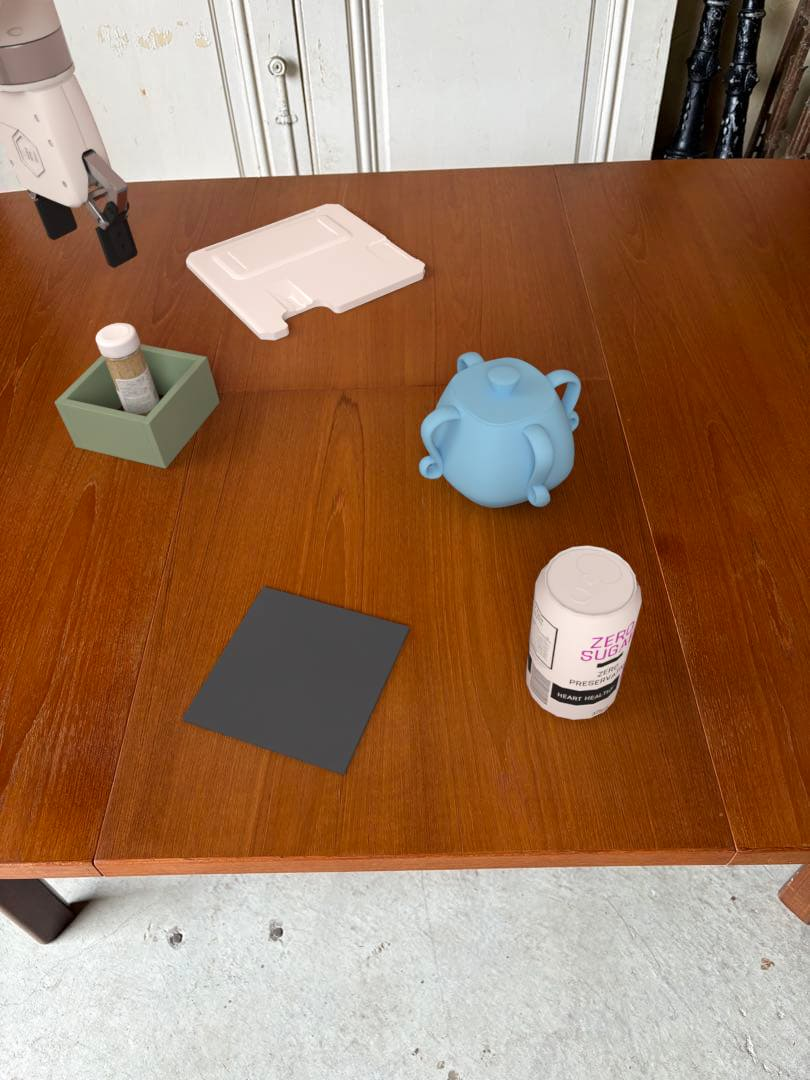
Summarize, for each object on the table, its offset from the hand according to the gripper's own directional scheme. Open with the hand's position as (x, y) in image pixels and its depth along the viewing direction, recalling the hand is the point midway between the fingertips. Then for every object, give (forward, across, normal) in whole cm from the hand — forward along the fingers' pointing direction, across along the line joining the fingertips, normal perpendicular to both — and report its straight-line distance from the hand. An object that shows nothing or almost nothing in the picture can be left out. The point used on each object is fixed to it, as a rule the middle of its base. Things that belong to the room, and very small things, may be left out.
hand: (93, 247), depth 81 cm
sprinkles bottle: (+26, -4, +1) cm, 26 cm away
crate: (+25, -4, +1) cm, 26 cm away
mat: (+25, +37, -14) cm, 47 cm away
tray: (+25, -13, +39) cm, 48 cm away
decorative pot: (+25, +37, +19) cm, 48 cm away
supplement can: (+26, +58, 0) cm, 63 cm away
